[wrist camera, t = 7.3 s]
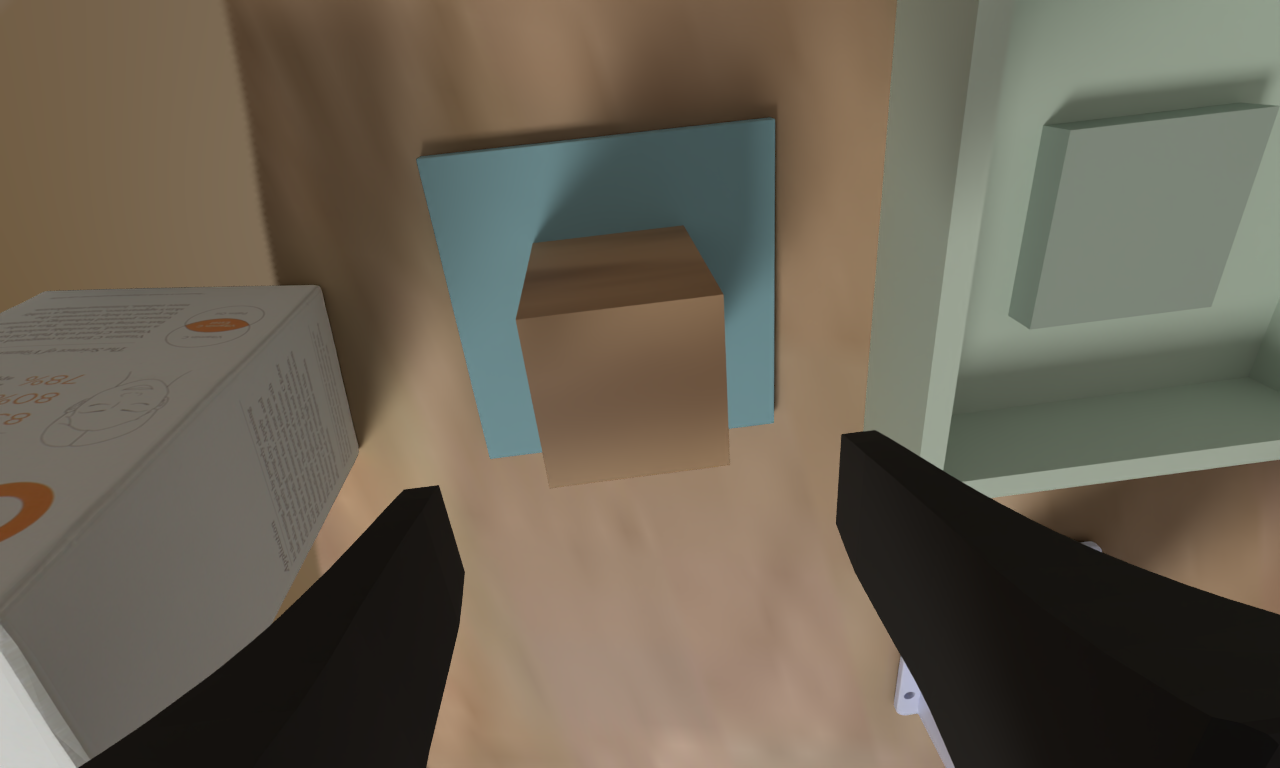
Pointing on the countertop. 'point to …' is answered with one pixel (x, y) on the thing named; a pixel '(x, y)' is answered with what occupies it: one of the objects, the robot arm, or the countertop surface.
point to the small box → (153, 496)
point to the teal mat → (598, 205)
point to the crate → (1080, 240)
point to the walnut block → (624, 356)
